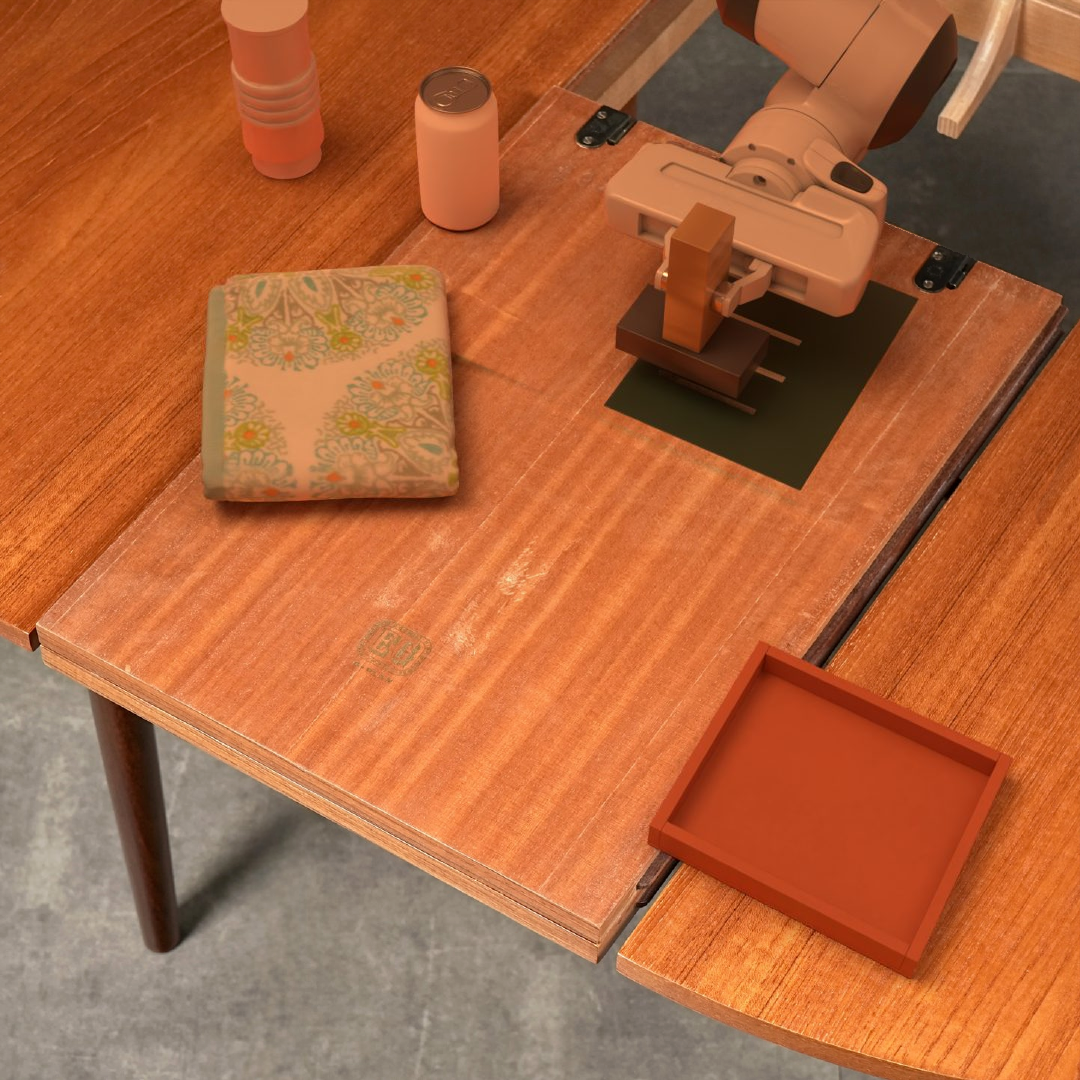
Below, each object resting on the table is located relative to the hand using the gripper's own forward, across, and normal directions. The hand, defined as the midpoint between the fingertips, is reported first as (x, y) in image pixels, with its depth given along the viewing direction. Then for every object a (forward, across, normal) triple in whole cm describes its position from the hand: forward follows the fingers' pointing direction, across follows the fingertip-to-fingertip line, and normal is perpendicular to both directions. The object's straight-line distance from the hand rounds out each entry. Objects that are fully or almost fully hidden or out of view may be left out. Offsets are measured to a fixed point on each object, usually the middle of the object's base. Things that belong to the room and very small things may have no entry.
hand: (691, 296), depth 119 cm
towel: (+14, -22, +10) cm, 28 cm away
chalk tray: (+26, +24, +11) cm, 37 cm away
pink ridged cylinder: (-7, -41, +10) cm, 43 cm away
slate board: (-6, +4, +10) cm, 13 cm away
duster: (-1, 0, +6) cm, 7 cm away
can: (-9, -25, +10) cm, 29 cm away
